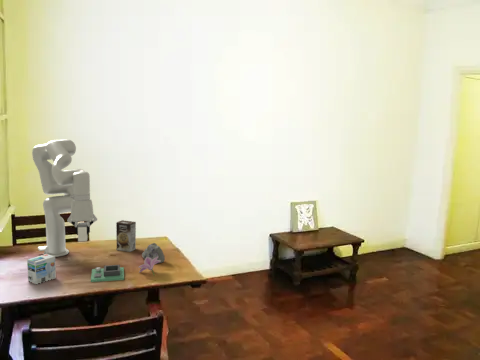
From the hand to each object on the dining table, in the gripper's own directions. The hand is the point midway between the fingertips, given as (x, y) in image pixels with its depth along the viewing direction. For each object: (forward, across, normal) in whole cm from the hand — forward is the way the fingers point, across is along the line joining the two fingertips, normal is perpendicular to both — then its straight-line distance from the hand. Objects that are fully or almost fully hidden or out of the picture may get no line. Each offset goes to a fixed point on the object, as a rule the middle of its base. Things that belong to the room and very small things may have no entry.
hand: (82, 233), depth 230 cm
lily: (+19, +32, -9) cm, 38 cm away
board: (+19, +12, -8) cm, 24 cm away
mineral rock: (+19, +35, +10) cm, 41 cm away
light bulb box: (+19, -18, -8) cm, 28 cm away
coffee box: (+19, +21, +31) cm, 42 cm away
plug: (+3, 0, 0) cm, 3 cm away
